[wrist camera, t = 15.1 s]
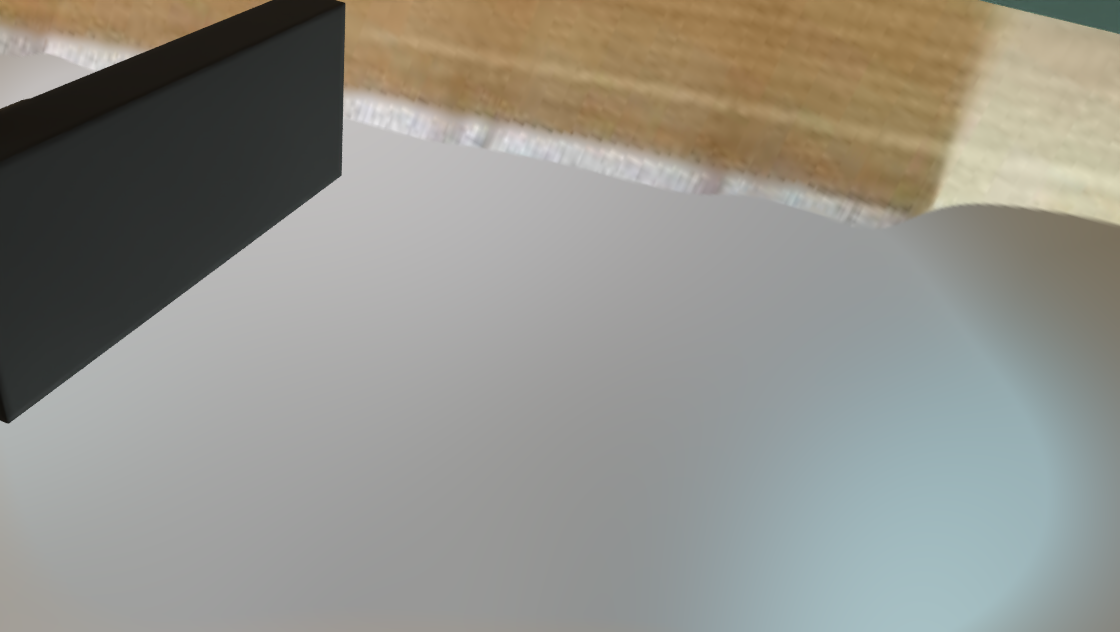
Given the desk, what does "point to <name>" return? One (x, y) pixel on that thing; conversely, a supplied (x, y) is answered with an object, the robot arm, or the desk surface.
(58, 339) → the robot arm
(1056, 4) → the mat
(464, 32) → the desk surface
